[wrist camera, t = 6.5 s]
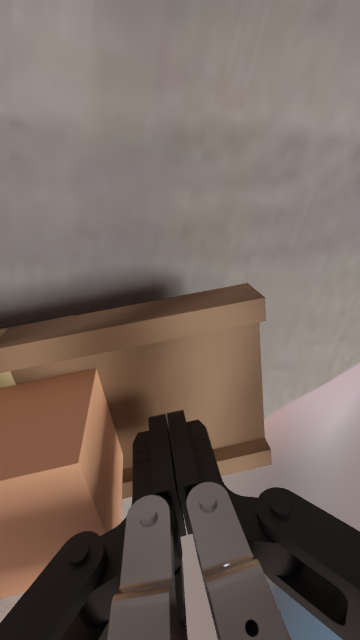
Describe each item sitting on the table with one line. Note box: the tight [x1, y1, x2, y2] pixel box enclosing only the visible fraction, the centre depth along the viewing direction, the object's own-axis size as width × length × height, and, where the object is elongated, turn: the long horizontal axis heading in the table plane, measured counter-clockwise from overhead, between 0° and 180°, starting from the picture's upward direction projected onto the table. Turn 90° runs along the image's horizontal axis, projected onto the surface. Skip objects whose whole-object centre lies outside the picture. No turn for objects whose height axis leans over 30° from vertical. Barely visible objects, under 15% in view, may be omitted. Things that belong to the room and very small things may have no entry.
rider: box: [0, 368, 123, 599], centre depth 12 cm, size 7×5×5 cm
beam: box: [0, 283, 271, 499], centre depth 16 cm, size 24×9×5 cm, turn 99°
